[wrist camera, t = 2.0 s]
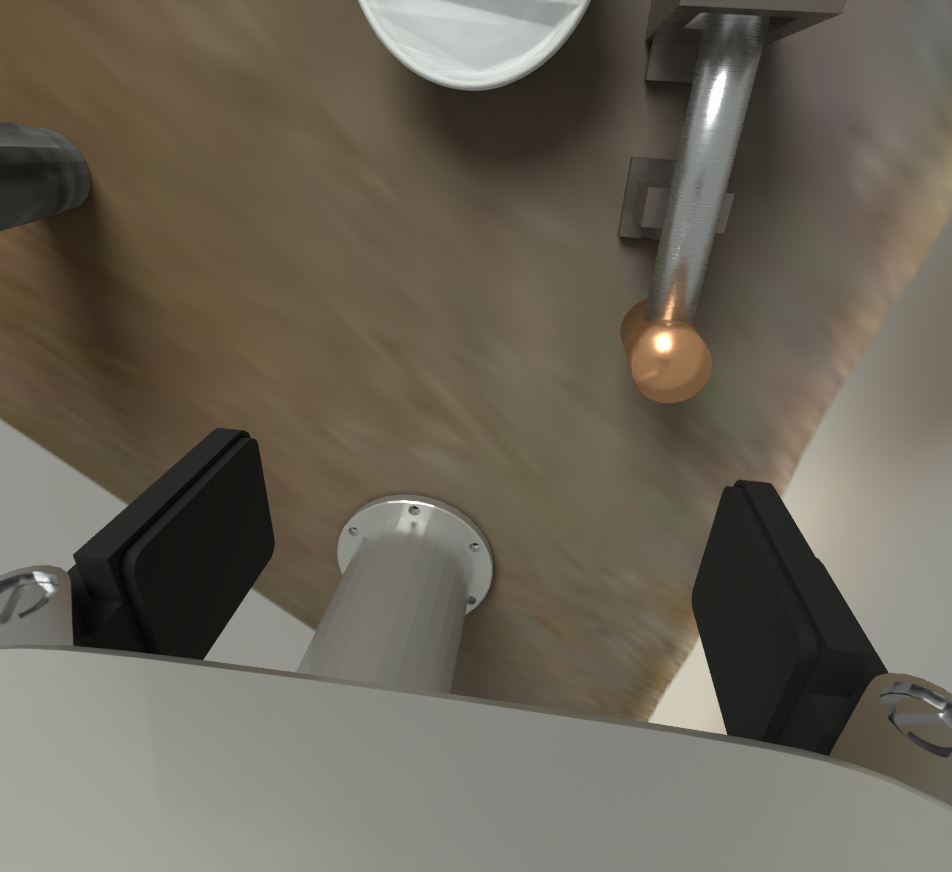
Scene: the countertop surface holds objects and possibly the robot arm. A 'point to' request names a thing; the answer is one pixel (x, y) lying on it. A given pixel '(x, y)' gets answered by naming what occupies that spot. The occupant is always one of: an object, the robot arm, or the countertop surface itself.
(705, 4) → the eye post
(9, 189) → the beverage cup
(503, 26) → the ramekin
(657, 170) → the cradle
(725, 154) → the hook rod
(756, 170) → the countertop surface
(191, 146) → the countertop surface
